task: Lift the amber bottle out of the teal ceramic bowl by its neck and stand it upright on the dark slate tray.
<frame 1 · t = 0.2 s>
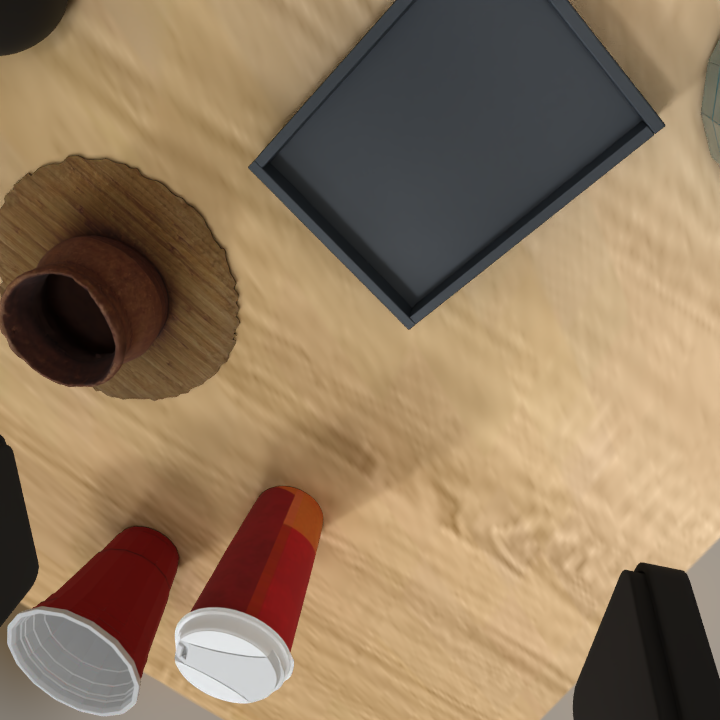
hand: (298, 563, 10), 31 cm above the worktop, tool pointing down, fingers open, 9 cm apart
tray: (445, 139, 37), on the worktop
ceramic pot: (117, 288, 46), on the worktop
paper cup: (291, 511, 53), on the worktop
plastic cup: (147, 547, 58), on the worktop
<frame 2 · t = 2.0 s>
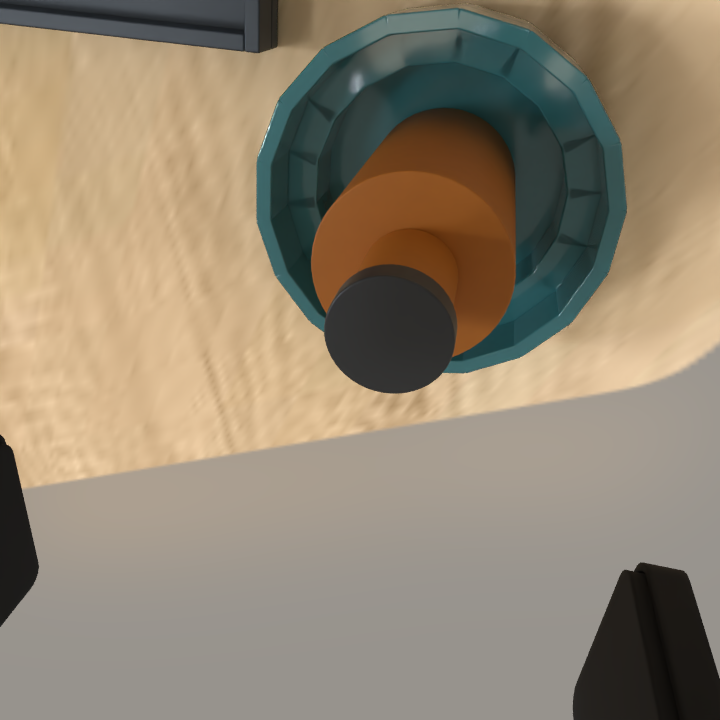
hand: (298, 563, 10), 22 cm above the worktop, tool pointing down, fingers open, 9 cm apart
bottle: (441, 183, 28), resting on bowl
bowl: (443, 180, 28), on the worktop
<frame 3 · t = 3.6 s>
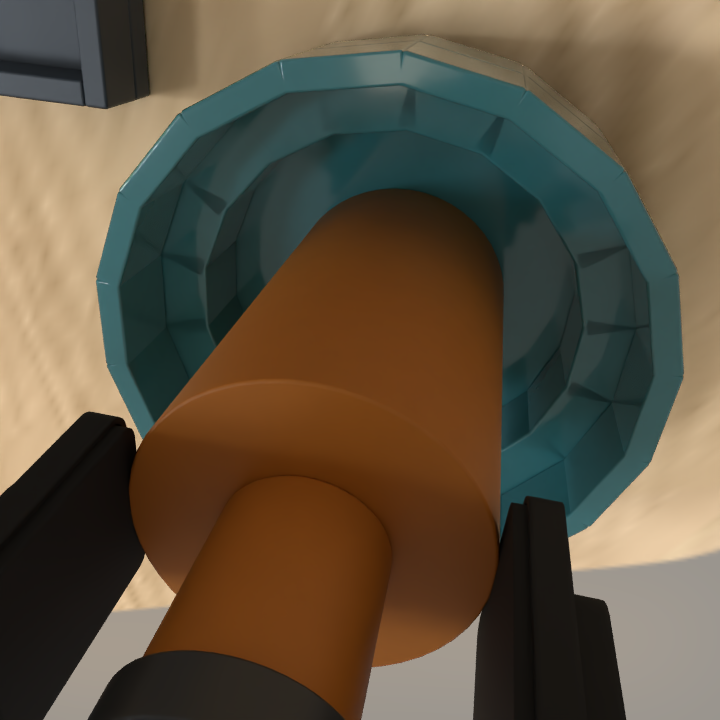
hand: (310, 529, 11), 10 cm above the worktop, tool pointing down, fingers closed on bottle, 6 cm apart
bottle: (396, 292, 19), point 1 cm above the worktop, touching bowl, gripper
bowl: (399, 285, 19), on the worktop
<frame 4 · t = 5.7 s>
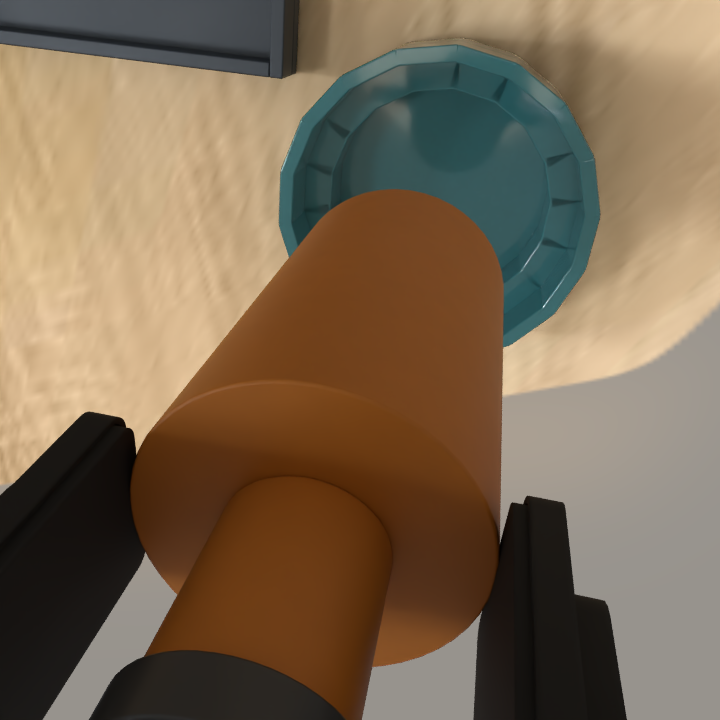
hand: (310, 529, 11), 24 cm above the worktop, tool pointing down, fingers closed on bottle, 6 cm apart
bottle: (396, 292, 19), point 15 cm above the worktop, touching gripper
bowl: (441, 190, 32), on the worktop
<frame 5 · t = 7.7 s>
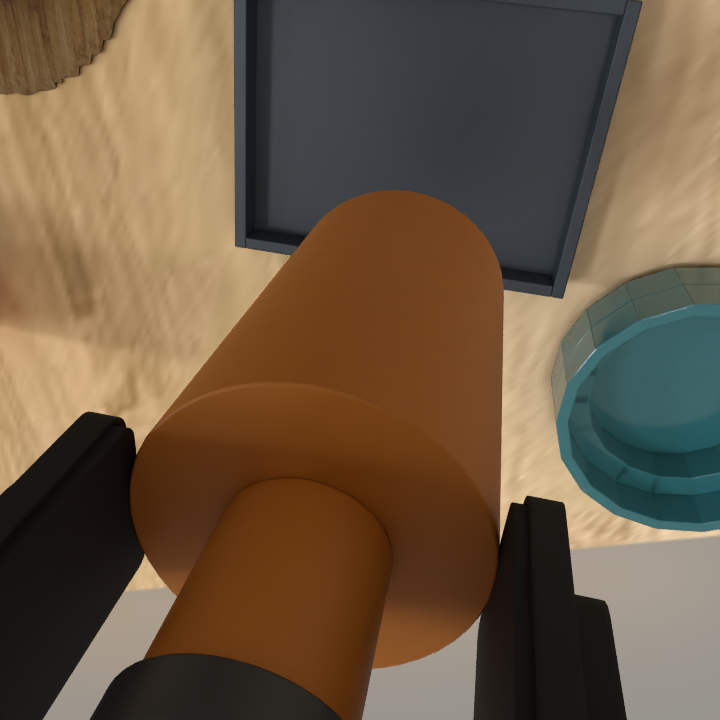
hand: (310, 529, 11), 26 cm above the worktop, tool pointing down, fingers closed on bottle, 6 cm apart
tray: (416, 131, 33), on the worktop
bottle: (396, 293, 19), point 17 cm above the worktop, touching gripper
bowl: (676, 376, 37), on the worktop
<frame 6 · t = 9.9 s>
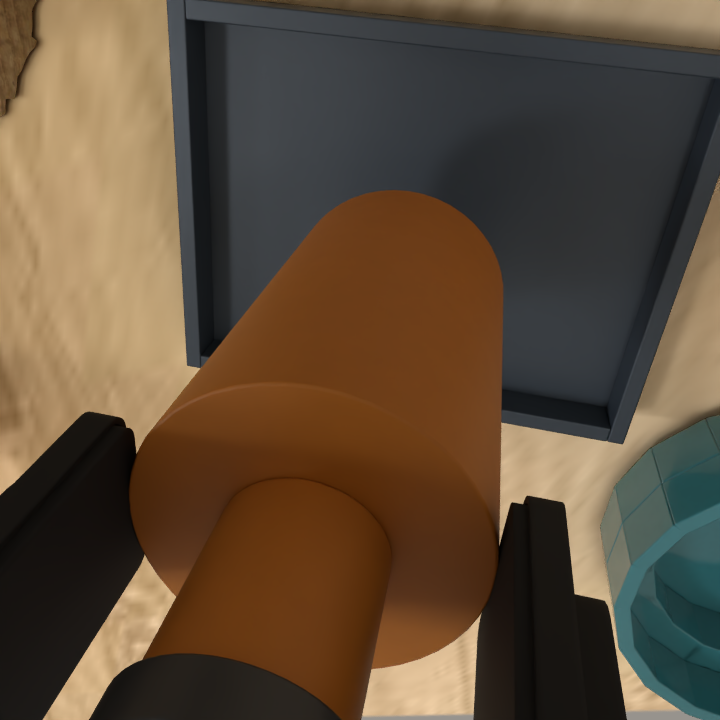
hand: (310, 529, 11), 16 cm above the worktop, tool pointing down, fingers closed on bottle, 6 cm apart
tray: (425, 222, 24), on the worktop
bottle: (396, 293, 19), point 6 cm above the worktop, touching gripper
when the fingers open (10 cm above the worktop, at t = 11.7 s): bottle stays where it is, resting on tray.
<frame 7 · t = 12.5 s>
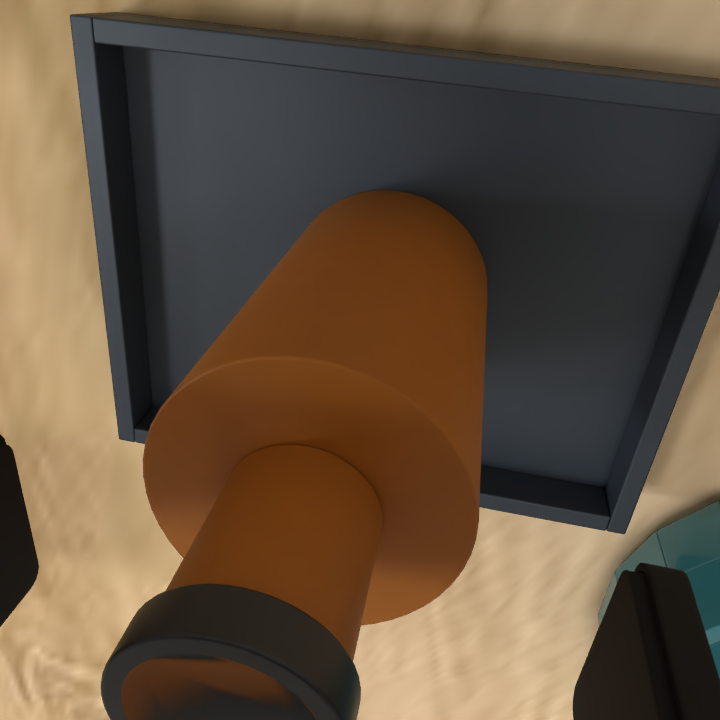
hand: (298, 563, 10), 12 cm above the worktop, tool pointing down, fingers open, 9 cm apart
tray: (392, 276, 21), on the worktop
bottle: (387, 288, 20), point 1 cm above the worktop, touching tray
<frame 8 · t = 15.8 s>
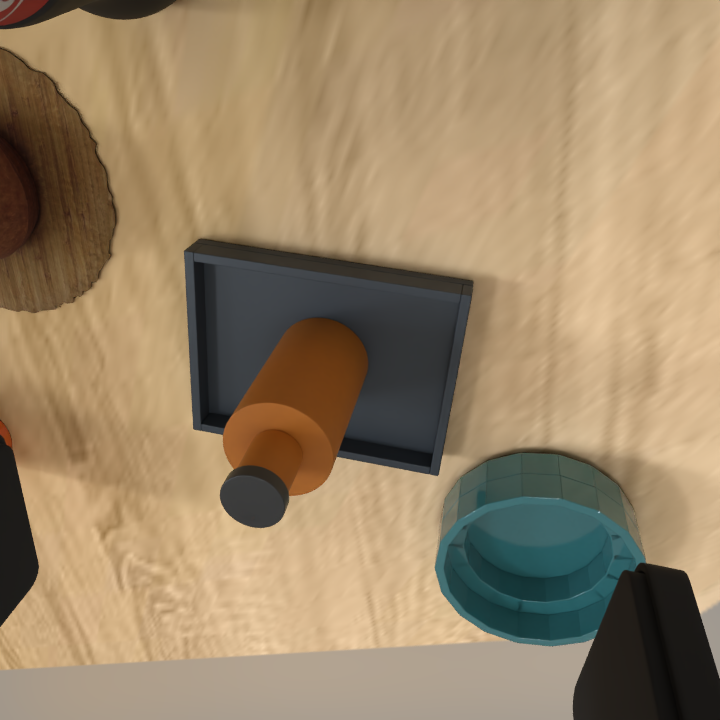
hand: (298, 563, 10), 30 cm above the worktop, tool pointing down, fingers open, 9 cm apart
tray: (326, 352, 44), on the worktop
bottle: (323, 359, 43), point 1 cm above the worktop, touching tray
bowl: (535, 523, 47), on the worktop
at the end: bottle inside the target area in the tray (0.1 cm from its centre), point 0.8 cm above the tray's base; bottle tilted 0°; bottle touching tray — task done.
